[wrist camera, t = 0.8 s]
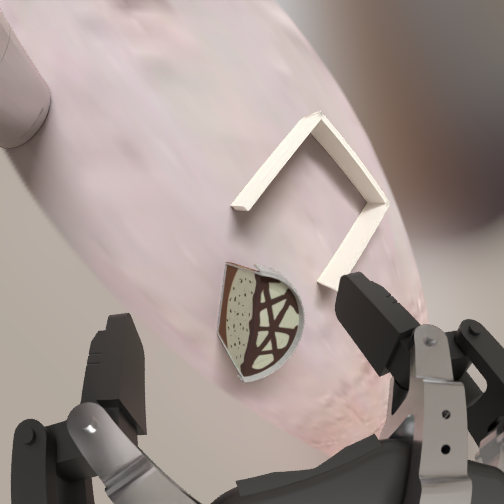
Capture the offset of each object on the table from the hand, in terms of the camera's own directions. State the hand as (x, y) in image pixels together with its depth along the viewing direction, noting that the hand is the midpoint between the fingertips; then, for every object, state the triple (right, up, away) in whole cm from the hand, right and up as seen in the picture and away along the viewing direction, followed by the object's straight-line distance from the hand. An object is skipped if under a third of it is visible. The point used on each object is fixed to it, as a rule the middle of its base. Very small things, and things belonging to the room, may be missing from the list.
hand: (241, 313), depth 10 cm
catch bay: (+8, +9, +27) cm, 29 cm away
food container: (-1, -4, +25) cm, 26 cm away
